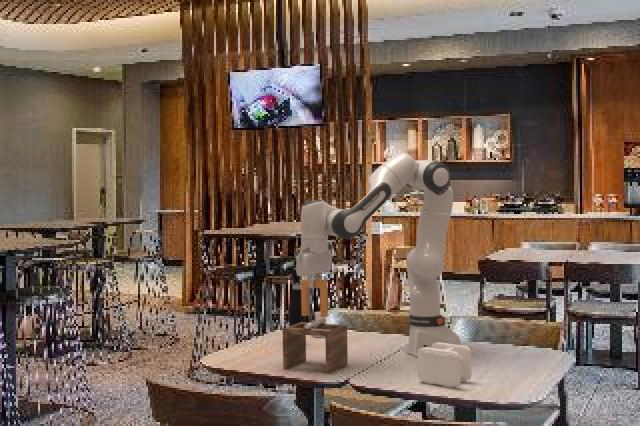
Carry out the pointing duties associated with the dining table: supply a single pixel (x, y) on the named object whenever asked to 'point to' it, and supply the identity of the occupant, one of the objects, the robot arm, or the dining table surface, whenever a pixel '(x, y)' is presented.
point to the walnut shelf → (297, 335)
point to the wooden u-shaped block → (323, 296)
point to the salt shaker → (318, 317)
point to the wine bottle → (295, 301)
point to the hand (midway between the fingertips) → (314, 286)
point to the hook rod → (314, 324)
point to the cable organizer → (444, 364)
